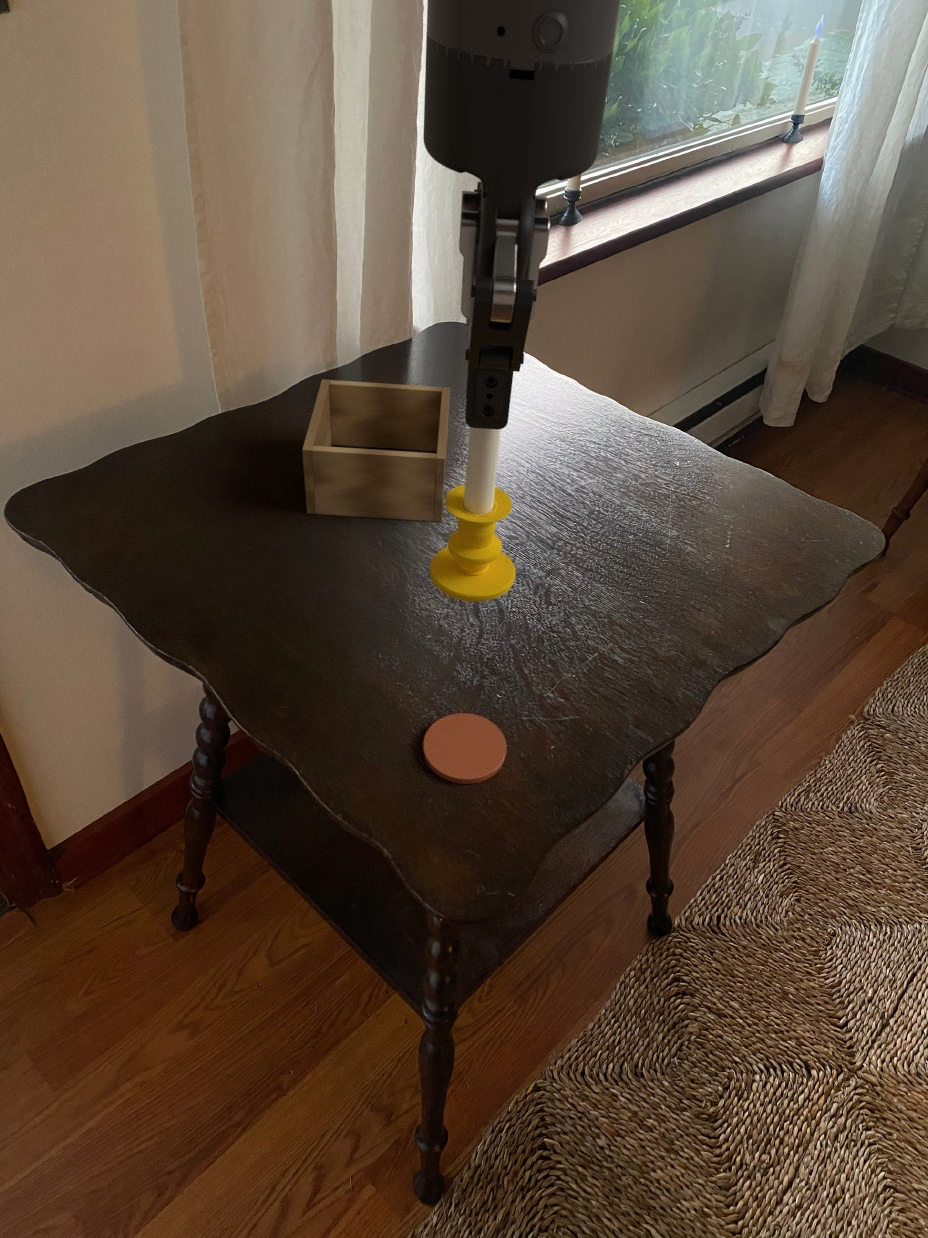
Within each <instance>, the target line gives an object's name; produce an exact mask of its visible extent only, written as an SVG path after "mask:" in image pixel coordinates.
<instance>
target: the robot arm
mask: <svg viewBox="0 0 928 1238" xmlns="http://www.w3.org/2000/svg"><path fill="white" fill-rule="evenodd" d="M621 3H622V0H427V8H426V9H427V12H426V39H425V40H426V42H425V75H424V76H425V77H424V103H423V104H424V105H423V106H424V107H423V108H424V109H423V112H424V113H423V144H424V148H425V150H426V152H427V153H428V154H429V156H430V157H431V158H432V159H433V160H434V161H435V162H436V163H438V164H439V165H441V166H443V167H445V168H447V169H449V170H451V171H453V172H456V173H459V174H463V173H467V174H469V175H472V176H473V177H475V178H477V179H479V180H480V181H477V187H476V188H474V189H473V191H472V190H462V191H461V192H462V193H461V208H460V210H461V211H460V221H459V222H460V223H459V225H460V227H459V240H458V249H459V253H460V254H461V255H462V258H463V261H462V277H461V298H460V312H461V315H462V316H463V317H464V318H465V319H466V321H465V326H466V327H468V343H465V348H464V356H465V357H464V361H467V376H466V390H465V392H466V393H465V400H466V401H465V417H464V420H465V423H466V425H467V426H468V427H469V428H470V427H472V428H483V429H501V430H502V429H505V428H506V427H507V425H508V423H509V416H510V415H509V414H510V405H511V398H512V388H513V381H514V372H515V373H516V372H517V373H518V372H520V371H521V368H522V367H521V366H522V365H524V362H525V361H524V360H525V352H524V351H525V347H526V346H525V345H526V340H527V336H528V330H529V325H530V322H531V320H532V319H533V318H534V315H535V307H536V302H537V297H538V283H539V274H540V266H541V263H542V262H543V261H544V260H545V259H546V257H547V255H548V246H549V240H550V239H549V238H550V227H551V217H550V216H547V210H548V197H547V196H541V195H540V196H539V195H537V190H538V188H539V187H540V186H542V185H544V184H546V183H548V182H551V181H554V180H558V181H566V180H569V179H573V178H576V177H578V176H580V175H582V174H584V173H585V172H587V171H588V170H589V169H590V168H591V167H592V166H593V165H594V163H595V162H596V160H597V158H598V154H599V148H600V142H601V135H602V129H603V121H604V115H605V109H606V103H607V95H608V90H609V83H610V75H611V71H612V63H613V58H614V51H615V44H616V37H617V31H618V25H619V18H620V10H621V5H622V4H621Z"/></svg>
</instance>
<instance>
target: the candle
mask: <svg viewBox="0 0 928 1238" xmlns="http://www.w3.org/2000/svg"><path fill="white" fill-rule="evenodd" d="M501 431H502V429H483V428H472V427H470V426H469V435H468V447H467V458H466V459H467V460H466V471H465V481H464V484H461V485H457V486H456V487H454V488H451V490H449V492H448V493H446V495H445V498H444V506H445V507H446V509H447V511H448V513H450V514H451V515H452V516H453V517H455V518H457V519H458V521H457V530H455V531H454V532H453V533H452V534H451V535H450V536H449V538H448V539H447V546H445V547H444V548H442V549H440V550H439V551H438V552H436V554H435V555H434V556H433V557H432V559H431V562H430V563H429V577H430V579H431V582H432V584H433V585H434V586H435V587H436V588H437V589H438V590H439V591H440V592H442V593H443V594H445V595H446V596H448V597H450V598H453V599H455V600H459V601H464V602H469V603H470V602H471V603H483V602H489V601H492V600H494V599H498V598H500V597H502V596H503V595H505V594H506V593H508V592H509V591H510V589H512V587H513V585H514V583H515V580H516V567H515V565H514V562H513V561H512V559H511V558H510V557H509V556H508V555H507V554H506V553H505V552H503V551H502V549H503V548H502V547H503V545H502V544H503V543H502V541H501V539H500V537H499V536H498V535H497V534H496V533H495V532H496V528H497V525H496V522H498V521H502V520H503V519H505V518H507V517H508V516H509V515H510V513H511V512H512V510H513V501H512V498H511V497H510V495H509V494H508V493H506V492H505V491H504V490H503V489H501V488H500V487H497V486H496V482H497V471H498V461H499V451H500V450H499V449H500V441H501V439H500V438H501Z"/></svg>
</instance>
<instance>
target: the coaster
mask: <svg viewBox="0 0 928 1238" xmlns="http://www.w3.org/2000/svg"><path fill="white" fill-rule="evenodd" d="M507 745H508V744H507V741H506V738H505V735H504V733H503V732H502V730H501V729H500V728H499V727H498V726H497V725H496V724H495V723H494V722H492V721H491V720H489V719H487V718H485V717H483V716H481V715H478V714H473V713H467V712H466V713H465V712H463V713H462V712H461V713H453V714H448V715H446V716H443V717H440V718H439V719H438V720H436V721H434V722H433V723H432V724H431V725H430V726H429V727H428V729H427V730H426V732H425V734H424V737H423V741H422V755H423V757H424V761H425V763H426V765H427V767H429V769H430V770H431V771H432V772H433V773H434V774H435V775H436V776H438V777H439V778H442V779H443V780H445V781H448V782H450V783H455V784H459V785H461V784H462V785H472V784H473V785H474V784H478V783H482V782H484V781H486V780H489V779H491V778H492V777H493V776H495V775H496V774H497V773H498V772H499V771H500V770H501V769H502V767H503V766H504V764H505V762H506V761H505V760H506V757H507V751H508V750H507V749H508V747H507Z"/></svg>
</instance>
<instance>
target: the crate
mask: <svg viewBox="0 0 928 1238" xmlns="http://www.w3.org/2000/svg"><path fill="white" fill-rule="evenodd" d="M450 397H451V387H445V386H444V387H442V386H429V385H428V386H427V385H413V384H397V383H381V382H367V381H366V382H365V381H355V380H354V381H351V380H338V379H337V380H336V379H321V381H320V386H319V388H318V391H317V395H316V399H315V403H314V406H313V411H312V413H311V416H310V421H309V425H308V428H307V432H306V435H305V438H304V442H303V446H302V449H301V451H302V452H301V453H302V463H303V465H302V466H303V477H304V479H303V480H304V493H305V504H306V514H308V515H323V516H324V515H325V516H339V517H340V516H341V517H357V518H371V519H372V518H373V519H388V520H389V519H391V520H405V521H420V522H421V521H423V522H437V523H442V522H443V511H444V500H445V498H444V497H445V496H444V495H445V482H446V467H447V454H448V453H447V452H448V451H447V450H448V435H449V434H448V433H449V416H450V415H449V414H450ZM339 446H340V447H339ZM342 446H343V447H342ZM344 446H345V447H344ZM355 447H357V448H355ZM370 448H371V449H370ZM373 448H375V449H373ZM402 450H403V451H402ZM405 450H406V451H405ZM418 451H420V452H418ZM421 451H422V452H421ZM433 452H434V453H433Z"/></svg>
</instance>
